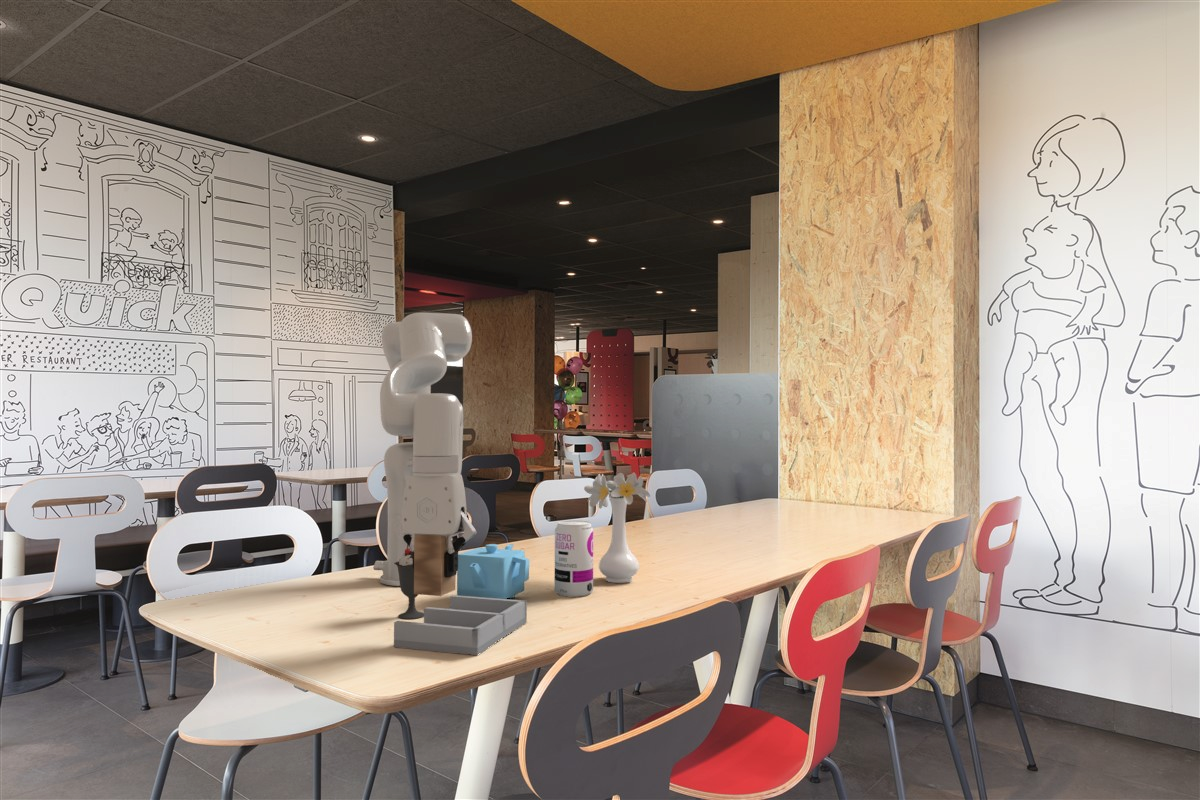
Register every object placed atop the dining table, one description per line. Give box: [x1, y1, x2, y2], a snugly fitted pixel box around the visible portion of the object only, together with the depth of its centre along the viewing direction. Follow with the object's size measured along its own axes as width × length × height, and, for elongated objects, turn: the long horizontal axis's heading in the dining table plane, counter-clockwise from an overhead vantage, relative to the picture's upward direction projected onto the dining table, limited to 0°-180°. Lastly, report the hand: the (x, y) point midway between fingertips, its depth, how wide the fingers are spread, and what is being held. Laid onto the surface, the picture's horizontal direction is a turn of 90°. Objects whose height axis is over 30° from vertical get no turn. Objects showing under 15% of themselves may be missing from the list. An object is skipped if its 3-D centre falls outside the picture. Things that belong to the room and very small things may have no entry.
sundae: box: [394, 544, 424, 620], centre depth 143 cm, size 7×7×15 cm
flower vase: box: [583, 472, 651, 584], centre depth 175 cm, size 13×18×25 cm
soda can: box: [554, 520, 594, 598], centre depth 162 cm, size 8×8×15 cm
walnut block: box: [414, 534, 457, 597], centre depth 128 cm, size 5×5×11 cm
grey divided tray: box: [393, 594, 528, 656], centre depth 131 cm, size 15×20×4 cm
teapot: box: [456, 543, 530, 599], centre depth 157 cm, size 16×18×11 cm
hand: (435, 574), depth 128 cm, fingers closed on walnut block, 5 cm apart
